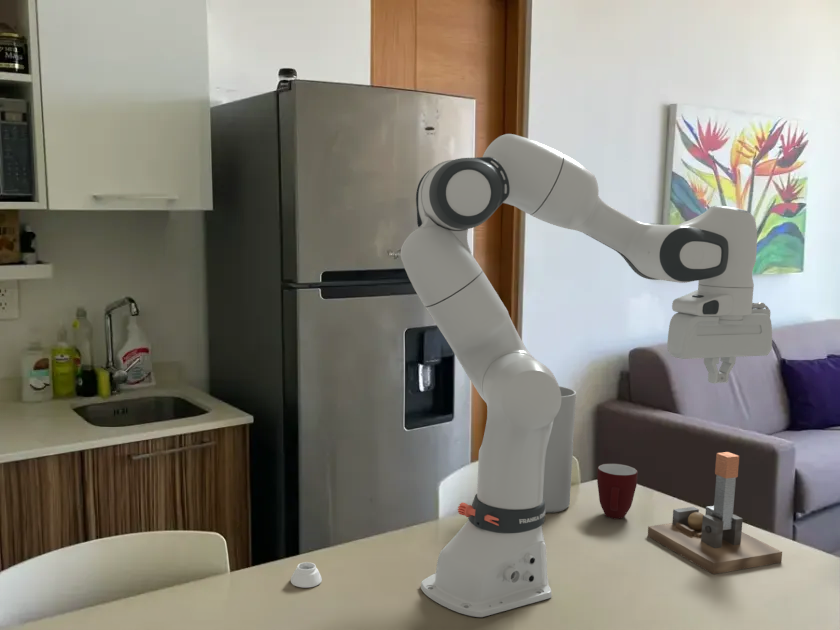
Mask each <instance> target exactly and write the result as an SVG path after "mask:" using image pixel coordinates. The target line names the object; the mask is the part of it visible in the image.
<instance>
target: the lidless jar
mask: <svg viewBox="0 0 840 630" xmlns="http://www.w3.org/2000/svg"><path fill="white" fill-rule="evenodd" d="M322 579H323V578H322V575H321V573H320V571H319V569H318V568H317V566H316V564H315V563H314V562H310V561H309V562H308V561H304V562H299V564H297V565H296V569H295V570H294V571H293V573H292V575H291V577H290V583H291V585H292V586H296V587H297V588H303V589H307V588H313V587H317V586H318V585H320V584H322V583H321V582H322V581H323V580H322Z"/></svg>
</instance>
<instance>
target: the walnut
mask: <svg viewBox="0 0 840 630" xmlns="http://www.w3.org/2000/svg"><path fill="white" fill-rule="evenodd" d="M703 515H704V514H703V513H702V512H694V513H692V514H690V516H689V517H688V524H689V526H690V527H691V528H692V529H693V530H696V531H700V530H702V521H703Z"/></svg>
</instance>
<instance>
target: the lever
mask: <svg viewBox="0 0 840 630" xmlns="http://www.w3.org/2000/svg"><path fill="white" fill-rule="evenodd" d="M739 465H740V455H738V454H735V453H732V452H730V451H725V452H716V456H715V467H714V468H715V469H714V474H715V475H716V477H715V488H714V503H713V505H710V506H705V514H704V515H712V516H714V517H716V518H718V519H720V520H722V521H724V522H723V530H728V529H732V519H733V514H734V505H735V492H736V482H737V481H736V479H737V478H738V477H739Z"/></svg>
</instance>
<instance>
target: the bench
mask: <svg viewBox="0 0 840 630" xmlns="http://www.w3.org/2000/svg"><path fill="white" fill-rule="evenodd" d="M699 511H700V509H698V508H696V507H695V506H688V507H682V508H673V511H672V522H670V523H669V522H668V523H663V524H655V525H650V526H649V525H648V527H647V537H648V538H650V539H652V540H653V541H655V542H657V543H659V544H660V545H662V546H664V547H666V548H667V549H669V550H671V551H673V552H674V553H676V554H678V555H679V556H681V557H683V558H685V559H686V560H688V561H690V562H692V563H693V564H695V565H696V566H698V567H700V568H702V569H704V570H705V571H707V572H709V573H711V574H712V575H715V574H722V573H729V572H735V571H739V570H745V569H746V570H747V569H750V568H751V569H752V568H756V567H762V566H768V565H773V564H778V563H779V564H780V563H782V559H783V551H782V550H780V549H778V548H775V547H773V546H772V545H769V544H767V543H765V542H763V541H762V540H759V539H757V538H754V537H753V536H751V535H749V534H747V533H746V532H743V531H742V530H743V521H744V520H743V518H742V517H740V516H738V515H737V514H735V513H733V519H732V529H728V530H723V522H724V521H722V520H720V519H718V518H716V517H714V516H712V515H705V514H703V521H702V530H700V531H696V530H693V529H692V528H691V527H690V526H689V524H688V517H689V516H690V514H692V513H694V512H699ZM699 513H700V512H699Z"/></svg>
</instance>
